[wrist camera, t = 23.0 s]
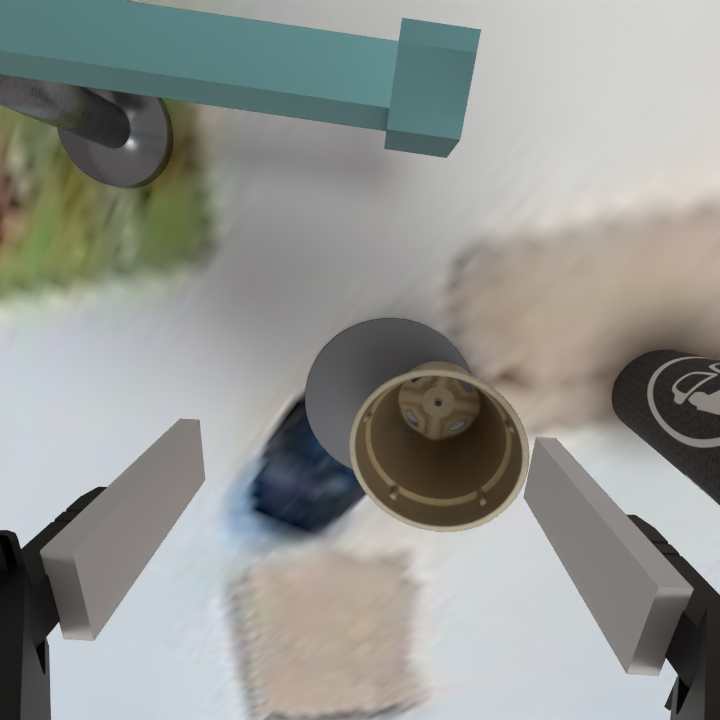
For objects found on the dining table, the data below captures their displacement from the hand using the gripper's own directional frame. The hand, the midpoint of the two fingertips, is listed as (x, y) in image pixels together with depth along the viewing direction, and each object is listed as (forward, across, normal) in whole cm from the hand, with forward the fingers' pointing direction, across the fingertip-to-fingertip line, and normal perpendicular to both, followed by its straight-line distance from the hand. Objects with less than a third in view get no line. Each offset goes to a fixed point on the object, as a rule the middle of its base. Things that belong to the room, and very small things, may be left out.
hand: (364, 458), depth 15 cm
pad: (+14, +2, -4) cm, 15 cm away
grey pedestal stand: (+15, -17, +14) cm, 27 cm away
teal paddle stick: (+4, -8, +14) cm, 17 cm away
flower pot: (+13, +6, -3) cm, 15 cm away
